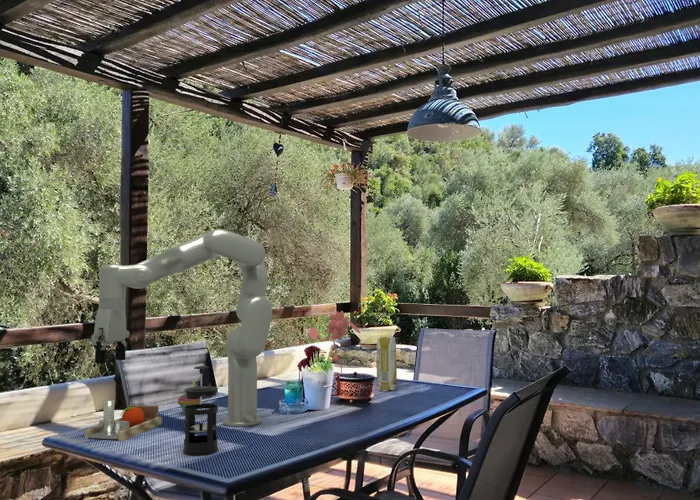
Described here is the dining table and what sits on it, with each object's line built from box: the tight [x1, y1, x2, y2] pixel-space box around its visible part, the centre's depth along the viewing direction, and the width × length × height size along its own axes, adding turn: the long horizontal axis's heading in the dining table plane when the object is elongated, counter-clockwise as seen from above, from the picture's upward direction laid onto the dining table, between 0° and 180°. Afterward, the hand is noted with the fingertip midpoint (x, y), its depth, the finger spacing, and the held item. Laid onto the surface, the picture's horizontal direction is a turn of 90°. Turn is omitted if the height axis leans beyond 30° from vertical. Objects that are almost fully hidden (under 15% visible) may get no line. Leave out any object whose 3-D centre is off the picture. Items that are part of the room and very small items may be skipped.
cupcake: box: [177, 378, 201, 415], centre depth 214 cm, size 9×8×12 cm
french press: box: [182, 365, 219, 457], centre depth 164 cm, size 12×9×23 cm
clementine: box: [119, 406, 145, 428], centre depth 190 cm, size 8×7×7 cm
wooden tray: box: [84, 404, 163, 442], centre depth 187 cm, size 22×12×6 cm, turn 167°
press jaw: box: [90, 399, 129, 440], centre depth 179 cm, size 6×9×11 cm, turn 77°
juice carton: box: [376, 334, 398, 391], centre depth 261 cm, size 9×8×24 cm
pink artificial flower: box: [308, 310, 361, 374], centre depth 252 cm, size 15×26×35 cm, turn 133°
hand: (110, 361), depth 180 cm, fingers open, 9 cm apart
